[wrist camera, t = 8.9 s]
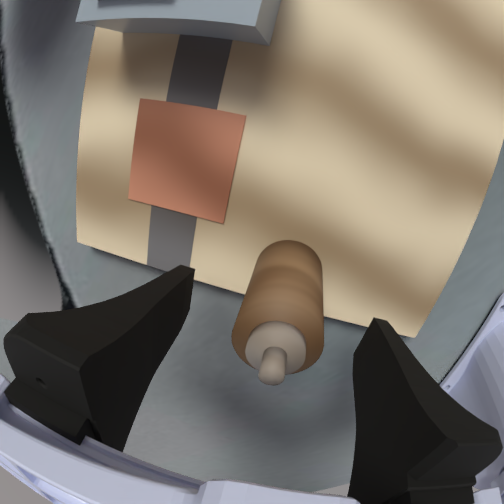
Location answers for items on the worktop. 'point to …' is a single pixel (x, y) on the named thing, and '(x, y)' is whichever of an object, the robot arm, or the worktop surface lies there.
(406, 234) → the board
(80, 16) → the block
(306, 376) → the worktop surface
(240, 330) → the brown glue bottle
